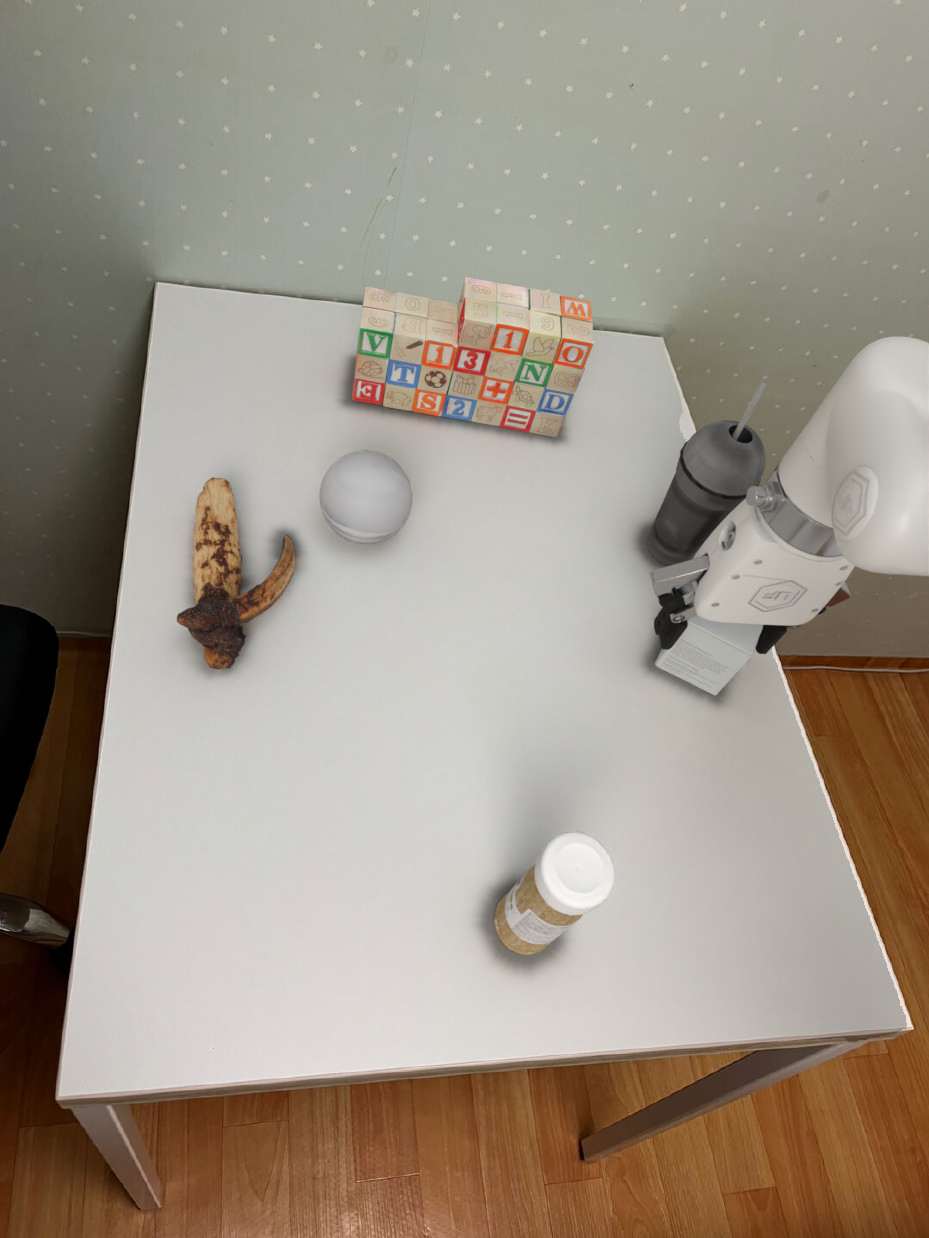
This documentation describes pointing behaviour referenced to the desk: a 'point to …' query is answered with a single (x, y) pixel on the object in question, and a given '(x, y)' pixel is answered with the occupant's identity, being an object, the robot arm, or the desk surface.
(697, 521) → the beverage cup
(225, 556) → the lashed bone hook
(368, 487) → the bath bomb
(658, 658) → the product box
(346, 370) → the desk surface
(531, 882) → the sprinkles bottle
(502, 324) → the stack of blocks
